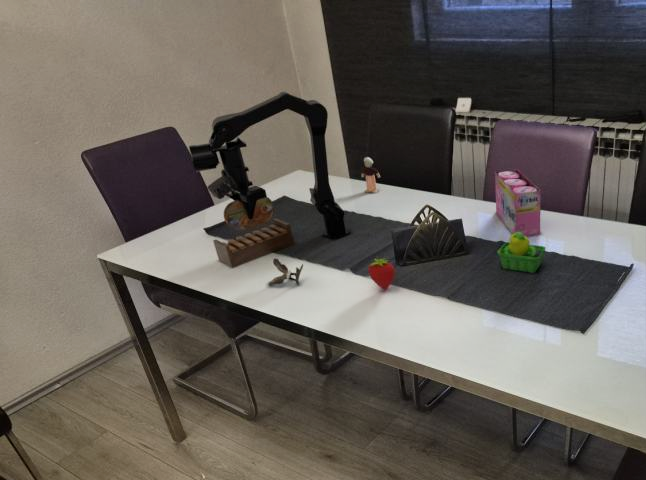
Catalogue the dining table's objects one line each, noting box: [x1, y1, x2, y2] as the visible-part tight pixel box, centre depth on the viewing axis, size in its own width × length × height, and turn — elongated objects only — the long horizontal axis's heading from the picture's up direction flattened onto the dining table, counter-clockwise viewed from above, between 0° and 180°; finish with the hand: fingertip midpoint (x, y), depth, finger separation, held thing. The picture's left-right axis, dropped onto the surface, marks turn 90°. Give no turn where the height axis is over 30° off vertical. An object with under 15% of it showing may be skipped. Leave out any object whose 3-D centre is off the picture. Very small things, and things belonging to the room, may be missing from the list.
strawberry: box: [368, 257, 396, 291], centre depth 152 cm, size 6×8×10 cm
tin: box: [223, 196, 275, 232], centre depth 176 cm, size 15×3×8 cm, turn 135°
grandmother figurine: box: [360, 156, 381, 194], centre depth 219 cm, size 8×4×13 cm, turn 80°
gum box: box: [494, 168, 542, 237], centre depth 184 cm, size 24×8×14 cm, turn 13°
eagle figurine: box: [268, 258, 304, 287], centre depth 161 cm, size 8×7×9 cm
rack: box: [212, 218, 295, 269], centre depth 180 cm, size 8×21×6 cm, turn 135°
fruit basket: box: [496, 232, 547, 274], centre depth 157 cm, size 11×9×11 cm
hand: (248, 218), depth 176 cm, fingers closed on tin, 2 cm apart
